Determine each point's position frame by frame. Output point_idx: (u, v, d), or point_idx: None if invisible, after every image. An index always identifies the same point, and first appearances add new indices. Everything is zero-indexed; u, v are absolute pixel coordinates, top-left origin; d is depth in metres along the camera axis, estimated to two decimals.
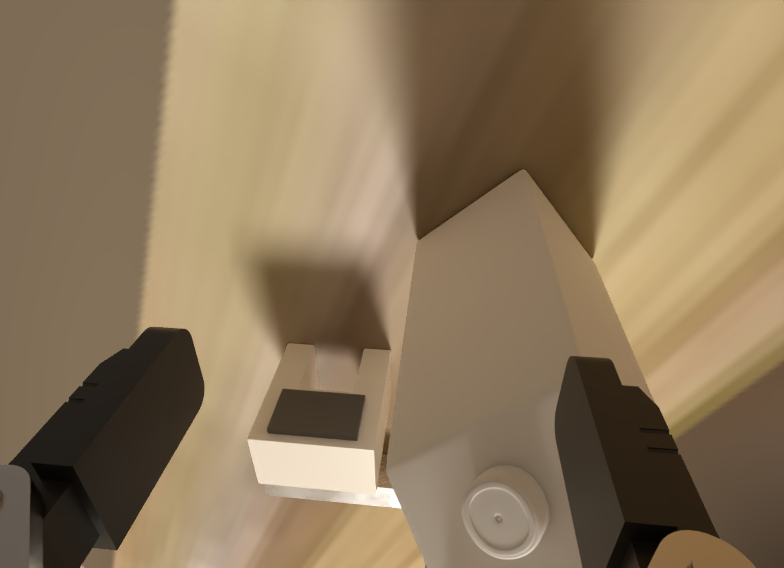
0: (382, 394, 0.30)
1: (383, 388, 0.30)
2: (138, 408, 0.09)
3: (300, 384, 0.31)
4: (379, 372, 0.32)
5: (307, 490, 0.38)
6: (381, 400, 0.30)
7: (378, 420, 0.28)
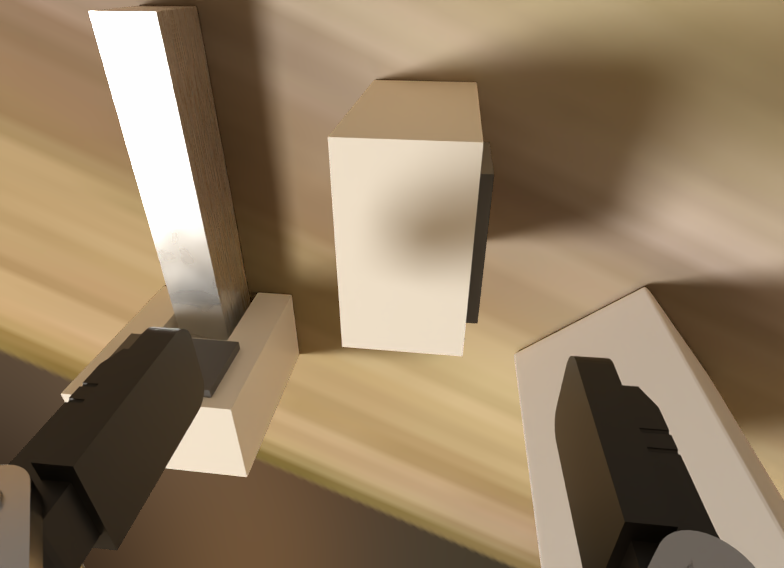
0: None
1: None
2: (138, 408, 0.09)
3: None
4: None
5: (145, 114, 0.18)
6: None
7: None
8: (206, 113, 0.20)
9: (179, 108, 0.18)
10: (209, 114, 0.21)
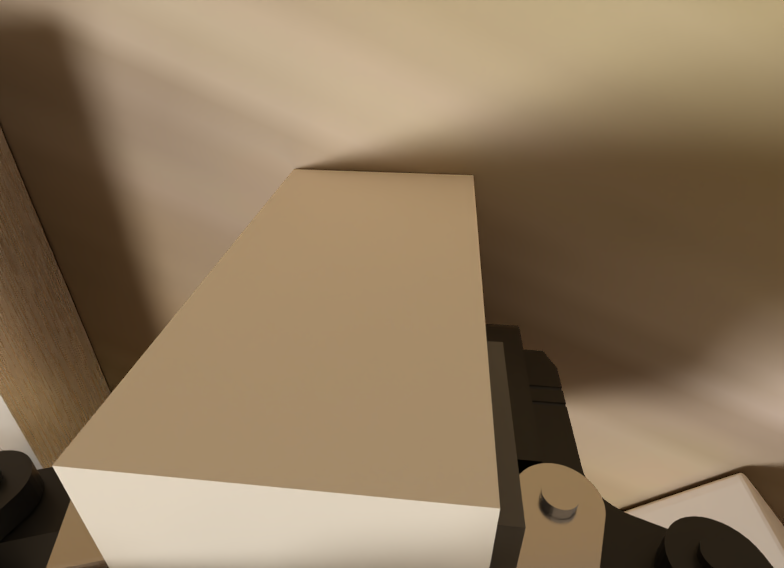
0: None
1: None
2: None
3: None
4: None
5: None
6: None
7: None
8: (10, 223, 0.12)
9: None
10: (18, 223, 0.12)
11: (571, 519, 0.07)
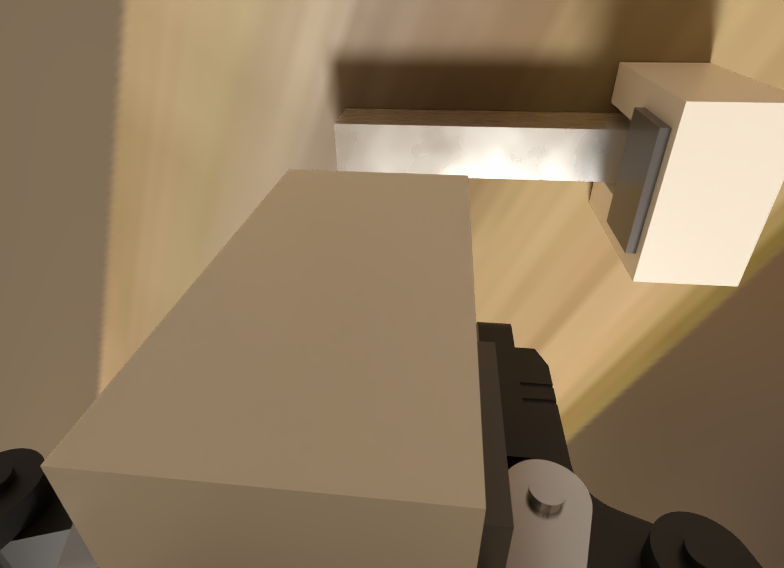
0: None
1: None
2: None
3: None
4: None
5: (406, 153, 0.24)
6: None
7: None
8: (418, 113, 0.25)
9: (402, 124, 0.23)
10: (421, 112, 0.25)
11: (558, 514, 0.07)
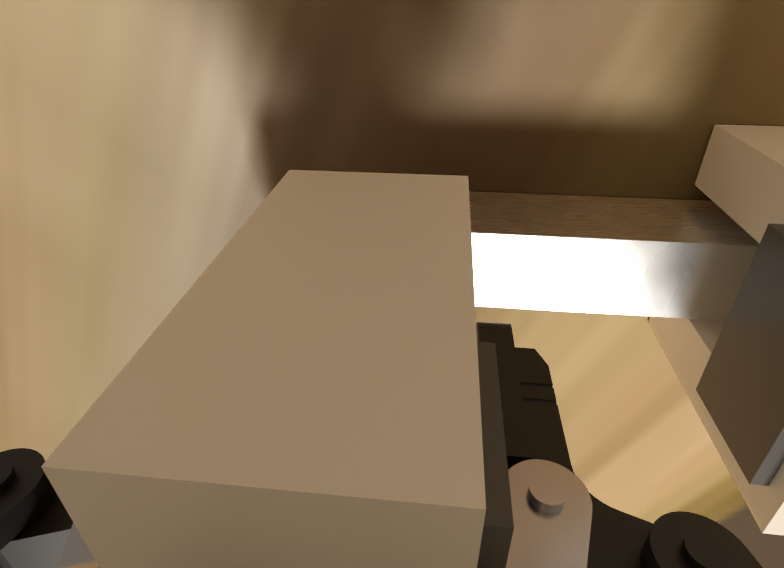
0: None
1: None
2: None
3: None
4: None
5: None
6: None
7: None
8: None
9: None
10: None
11: (558, 514, 0.07)
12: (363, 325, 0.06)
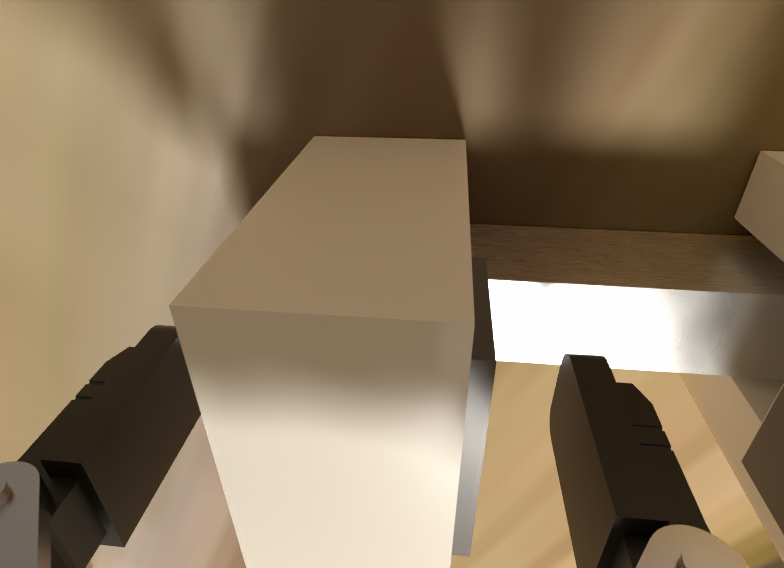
0: None
1: None
2: (144, 407, 0.09)
3: None
4: None
5: None
6: None
7: None
8: None
9: None
10: None
11: None
12: (385, 232, 0.08)
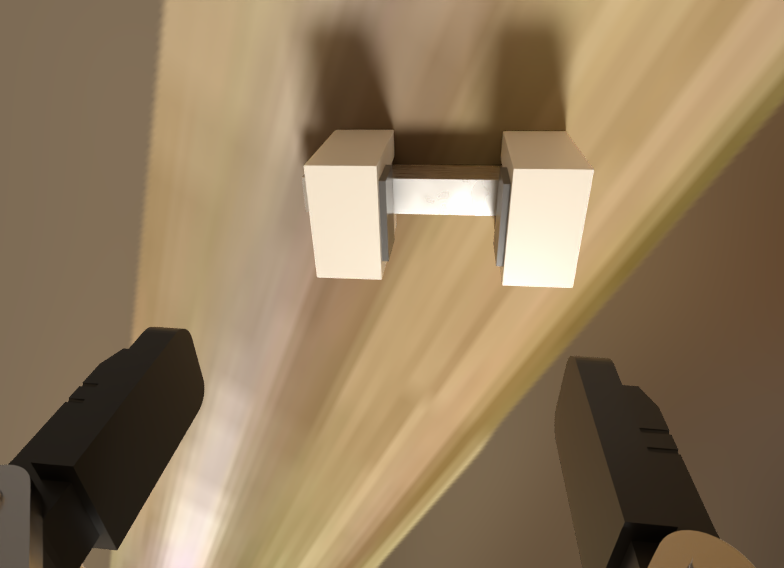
0: None
1: None
2: (138, 408, 0.09)
3: None
4: None
5: None
6: None
7: (385, 262, 0.32)
8: None
9: None
10: None
11: None
12: (358, 153, 0.29)
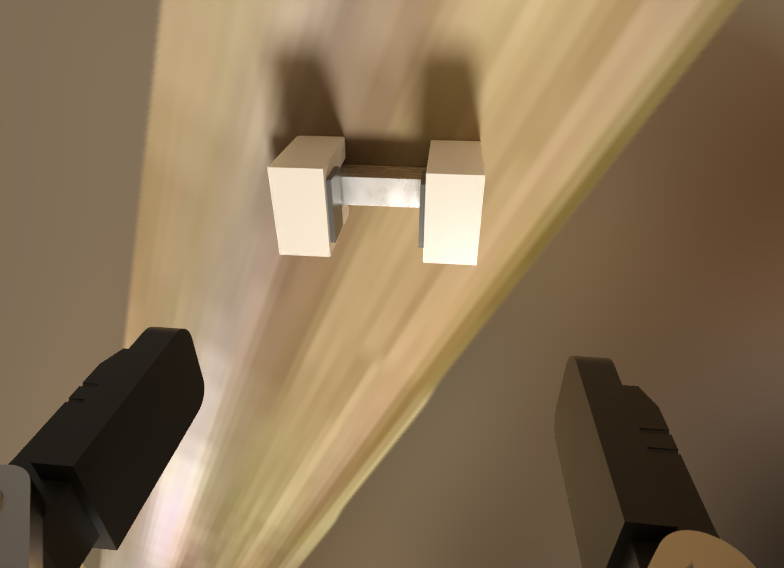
0: (340, 232, 0.42)
1: (341, 230, 0.42)
2: (138, 408, 0.09)
3: None
4: (344, 219, 0.43)
5: None
6: (338, 235, 0.42)
7: (334, 243, 0.40)
8: None
9: None
10: None
11: None
12: (311, 157, 0.37)
